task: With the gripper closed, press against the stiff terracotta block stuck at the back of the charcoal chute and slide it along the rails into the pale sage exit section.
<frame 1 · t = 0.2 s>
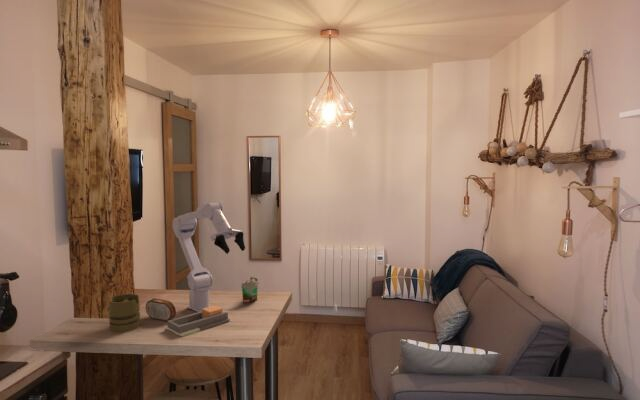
hand: (236, 250, 173), 30 cm above the worktop, tool tilted 45°, fingers open, 7 cm apart
piston: (125, 327, 172), on the worktop
tin: (160, 319, 181), on the worktop
block: (212, 313, 178), point 3 cm above the worktop, slide at 0.0 cm
food container: (252, 301, 205), on the worktop
chute: (198, 324, 174), on the worktop
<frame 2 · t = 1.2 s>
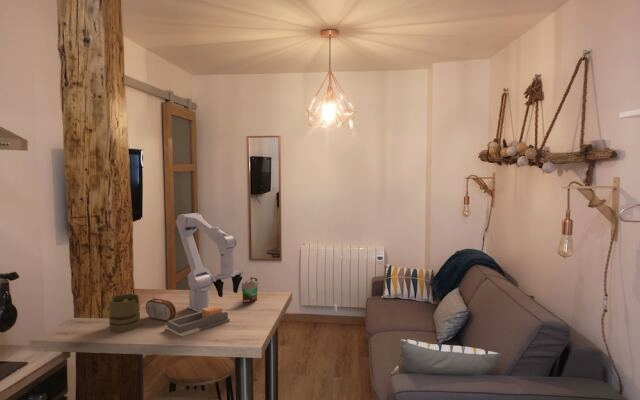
hand: (228, 294, 183), 9 cm above the worktop, tool pointing down, fingers open, 7 cm apart
nothing on the worktop moved.
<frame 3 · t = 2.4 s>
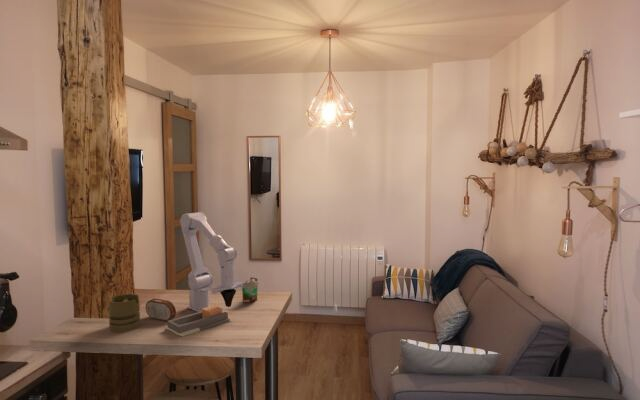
hand: (228, 306, 184), 4 cm above the worktop, tool pointing down, fingers closed
nothing on the worktop moved.
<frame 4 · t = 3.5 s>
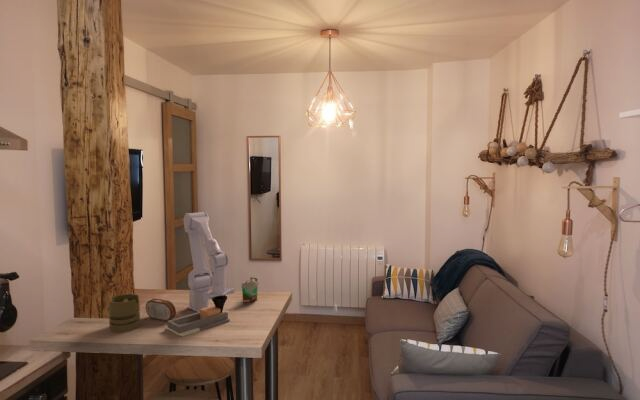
hand: (219, 313, 181), 2 cm above the worktop, tool pointing down, fingers closed
block: (210, 313, 178), point 3 cm above the worktop, slide at 0.9 cm, touching gripper
everything else where it was.
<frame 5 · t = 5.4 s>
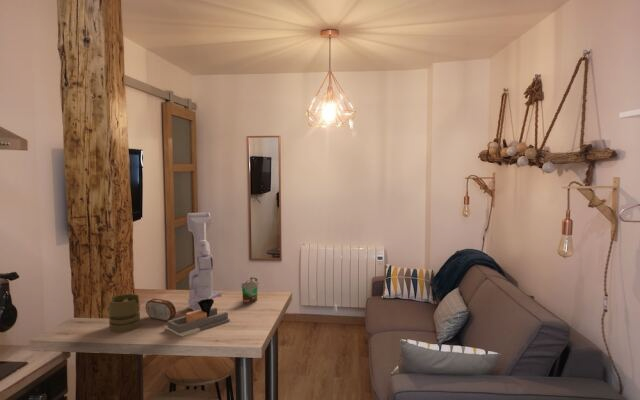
hand: (206, 317, 176), 2 cm above the worktop, tool pointing down, fingers closed
block: (196, 317, 173), point 3 cm above the worktop, slide at 7.4 cm, touching gripper
everything else where it was.
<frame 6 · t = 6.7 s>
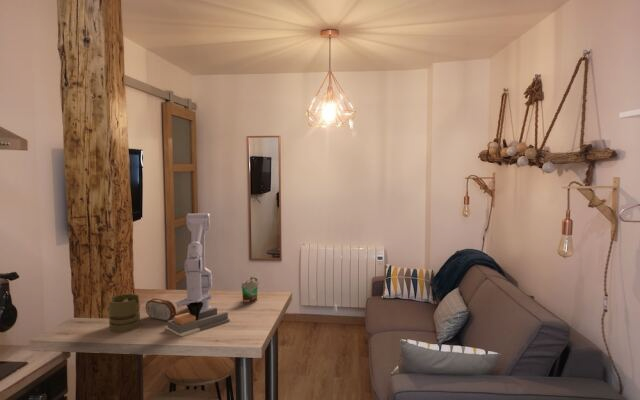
hand: (195, 320, 172), 2 cm above the worktop, tool pointing down, fingers closed
block: (185, 321, 169), point 3 cm above the worktop, slide at 12.4 cm, touching gripper
everything else where it was.
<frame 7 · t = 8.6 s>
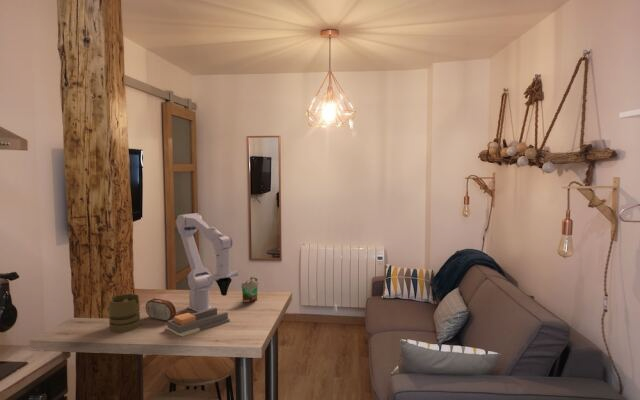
hand: (223, 295, 183), 9 cm above the worktop, tool pointing down, fingers closed
block: (185, 321, 169), point 3 cm above the worktop, slide at 12.4 cm
everything else where it was.
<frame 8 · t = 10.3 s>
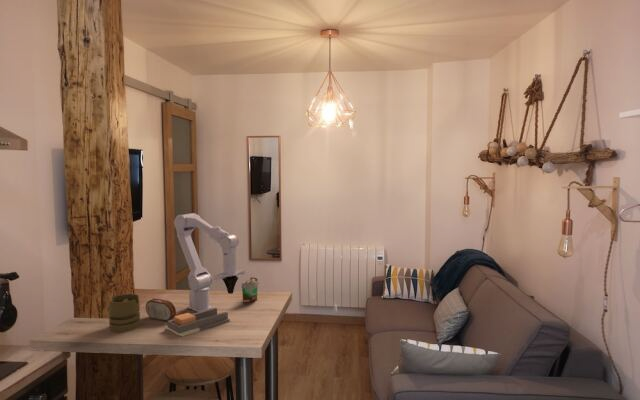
hand: (230, 293, 186), 9 cm above the worktop, tool pointing down, fingers closed
nothing on the worktop moved.
at the end: block slide at 12.4 cm; the gripper is holding nothing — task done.
